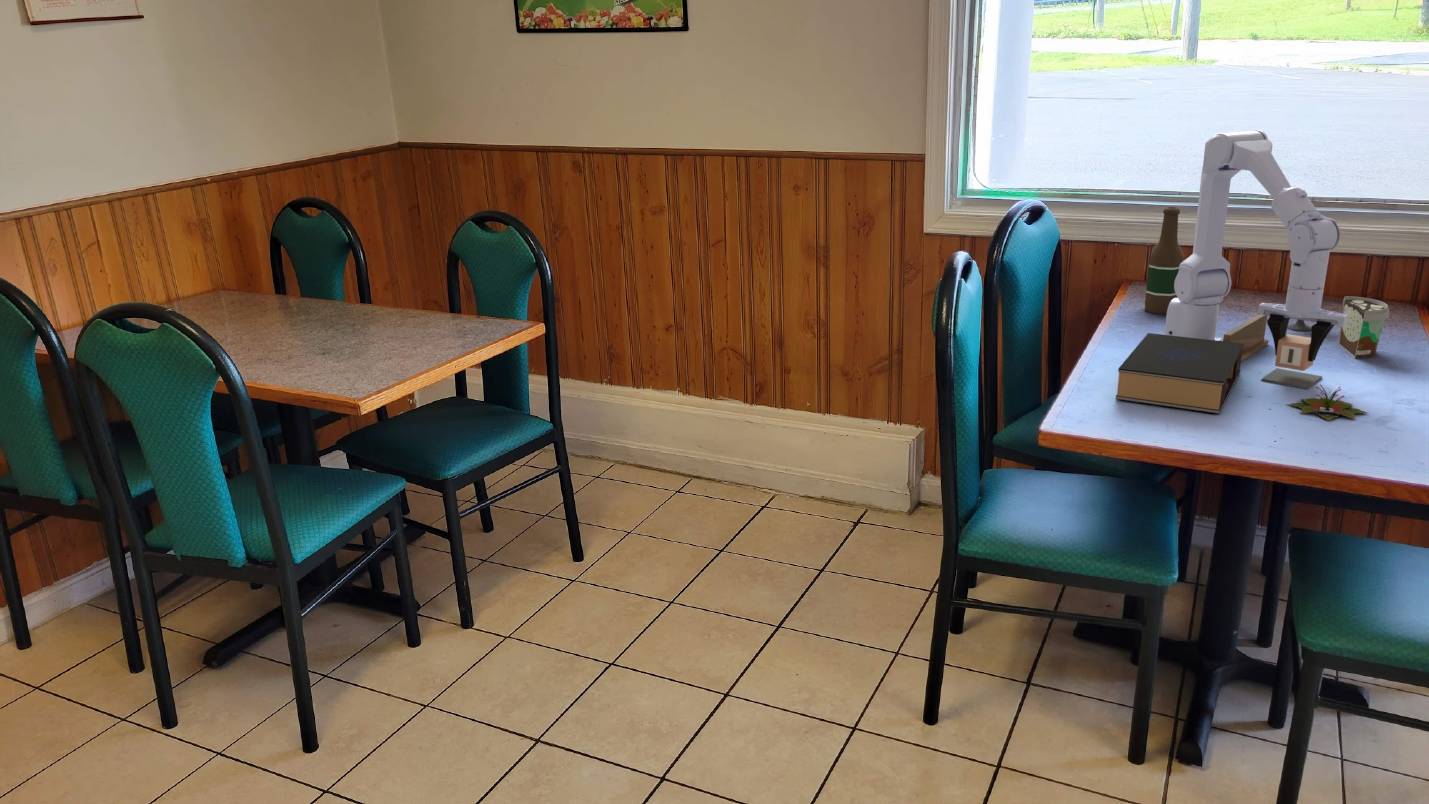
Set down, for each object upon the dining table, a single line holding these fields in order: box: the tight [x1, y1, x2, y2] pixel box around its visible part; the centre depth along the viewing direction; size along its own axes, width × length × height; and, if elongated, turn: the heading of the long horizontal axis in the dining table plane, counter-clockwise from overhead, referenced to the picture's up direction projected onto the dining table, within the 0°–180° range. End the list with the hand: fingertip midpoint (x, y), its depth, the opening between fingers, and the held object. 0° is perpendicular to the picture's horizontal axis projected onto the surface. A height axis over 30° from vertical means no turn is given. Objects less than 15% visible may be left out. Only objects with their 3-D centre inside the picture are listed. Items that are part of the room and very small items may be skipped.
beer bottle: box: [1144, 206, 1184, 315], centre depth 240 cm, size 8×8×24 cm
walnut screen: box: [1222, 314, 1269, 362], centre depth 210 cm, size 3×20×6 cm, turn 135°
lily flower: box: [1285, 384, 1368, 421], centre depth 181 cm, size 12×12×5 cm
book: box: [1114, 332, 1244, 415], centre depth 194 cm, size 17×25×7 cm
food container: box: [1337, 295, 1390, 359], centre depth 208 cm, size 12×6×10 cm, turn 168°
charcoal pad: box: [1260, 367, 1323, 390], centre depth 196 cm, size 8×8×1 cm
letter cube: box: [1274, 333, 1314, 372], centre depth 194 cm, size 5×5×5 cm
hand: (1295, 357), depth 195 cm, fingers closed on letter cube, 5 cm apart
